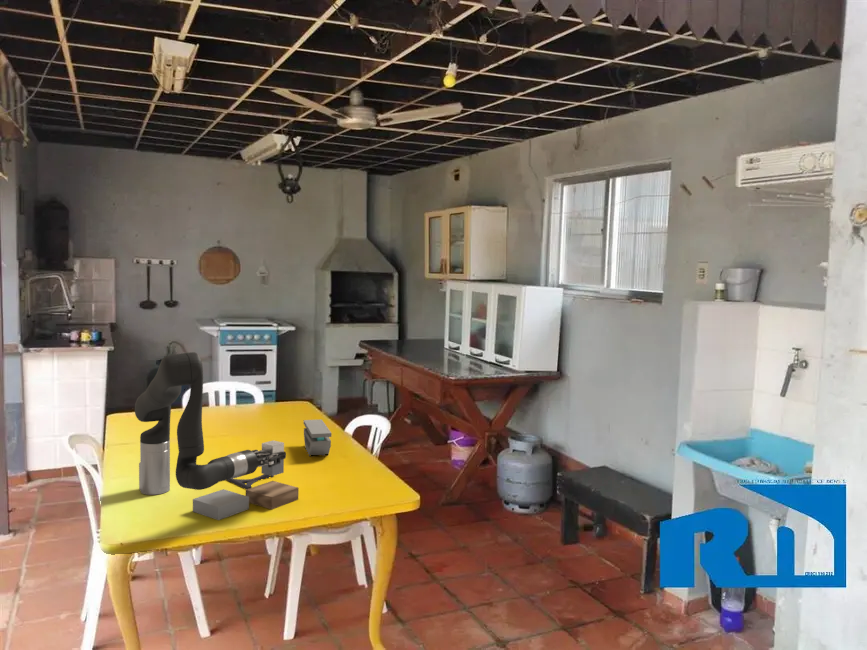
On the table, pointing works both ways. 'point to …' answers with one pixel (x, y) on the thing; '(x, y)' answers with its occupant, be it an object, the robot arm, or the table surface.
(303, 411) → the table surface
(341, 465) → the table surface
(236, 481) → the bracket
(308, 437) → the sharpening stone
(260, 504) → the stand
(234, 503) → the stand
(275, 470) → the block
